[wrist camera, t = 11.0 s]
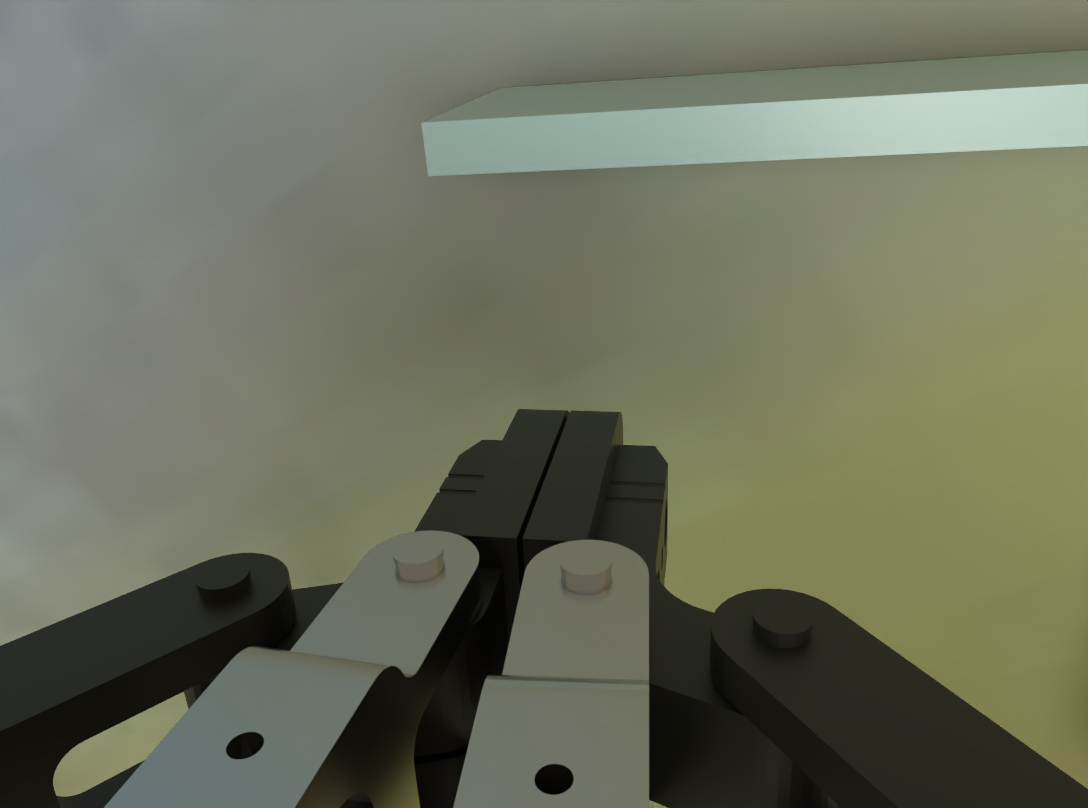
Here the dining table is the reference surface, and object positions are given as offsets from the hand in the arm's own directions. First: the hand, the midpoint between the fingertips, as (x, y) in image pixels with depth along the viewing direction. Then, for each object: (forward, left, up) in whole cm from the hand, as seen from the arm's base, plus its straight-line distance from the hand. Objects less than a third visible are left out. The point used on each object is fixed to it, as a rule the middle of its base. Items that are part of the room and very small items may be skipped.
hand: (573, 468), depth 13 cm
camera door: (+4, -6, -12) cm, 15 cm away
